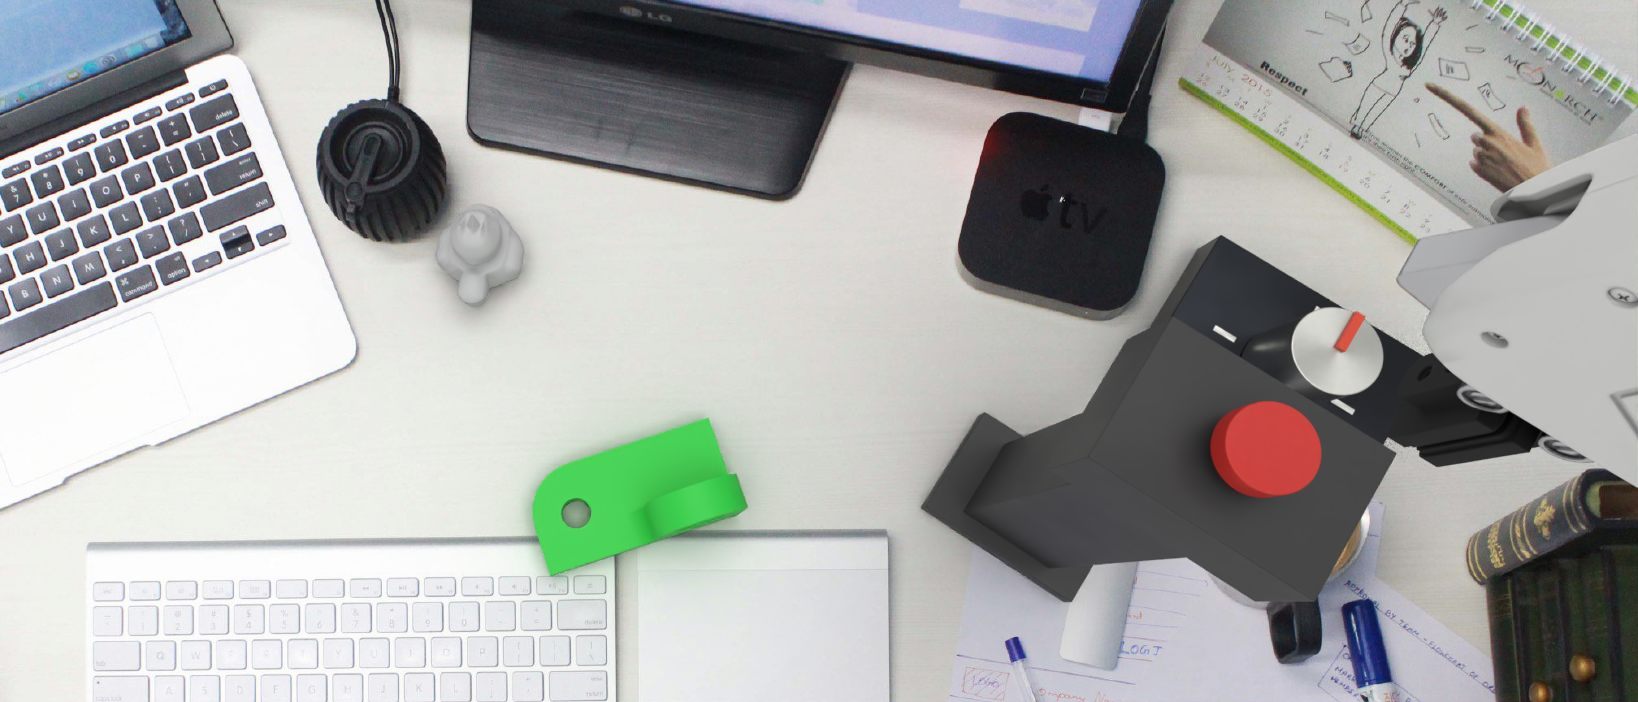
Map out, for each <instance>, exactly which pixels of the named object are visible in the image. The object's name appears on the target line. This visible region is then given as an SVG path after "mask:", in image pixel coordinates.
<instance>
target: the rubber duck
mask: <svg viewBox="0 0 1638 702" xmlns="http://www.w3.org/2000/svg"><path fill="white" fill-rule="evenodd" d="M524 258H525V247H524V243H523V241H522V239H521V236H520V235H519V234H518V232H516V230H514V228H513V226H512V224H510V222H509V220H508V219H507V218H506V217H505V216H504V215H503V213H502V212H501V211H500V210H499V209H498V208H496V207H494V206H490V205H487V204H483V203H476V204H473V205H471V206H469V207H467V208H466V209H464V210H463V211H461V213H459V215H457V216H456V218H454V220H453V221H452V222H451V224H450V225H449V226H447V227H446V228H444V230H443V231H442V232H441V234H440V235H439V237H438V240H437V244H436V250H435V261H436V263H437V265H438V266H439V267H440V268H441V269H442V270H443V271H444V272H445V273H447V274H448V275H449V276H450V277H451V278H452V279H454V280H456V281H457V282H458V285H457V292H456V293H457V294H456V295H457V297H458V299H460V300H461V301H462V302H463V303H465V304H467V306H468V307H470V308H479V307H481V306H483V305H484V304H485V303H486V302H487V301H488V298H489V296H490V289H491V288H494V287H498V286H501V285H503V284H505V283H506V282H510V281H513V280H515V279H517V278H518V277H519V276H521V273H522V268H523V263H524Z"/></svg>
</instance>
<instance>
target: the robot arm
mask: <svg viewBox="0 0 1638 702" xmlns="http://www.w3.org/2000/svg"><path fill="white" fill-rule="evenodd" d="M1489 208H1490V209H1489V212H1490V215H1491V217H1492V218H1493V220H1494V221H1495V222H1496V223H1494V224H1488V225H1482V226H1476V227H1472V228H1466V229H1460V230H1456V231H1449V232H1445V233H1439V234H1433V235H1428V236H1423V237H1421V238H1419V239H1417V241H1416V242H1415V244H1414V246H1413V249H1411V251H1410V253H1409V255H1408V257H1407V258H1406V260H1405V261H1404V264H1403V265H1402V267H1401V269H1400V271H1399V272H1398V275H1397V276H1396V278H1395V281H1396V284H1397V285H1398V286H1399V287H1400V288H1402V290H1404V291H1405V292H1406V293H1407V294H1409V295H1410V296H1411V297H1412V298H1413V299H1415V301H1417V302H1418V303H1420V304H1421V305H1422V306H1423V307H1425V308H1426V309H1427V310H1428V314H1427V316H1426V318H1425V321H1424V323H1423V325H1422V328H1421V334H1422V337H1423V340H1424V341H1425V344H1426V345H1427V347H1428V349H1430V351H1431V353H1427V354H1425V355H1423V357H1421V358H1420V359H1418V360H1417V361H1416V362H1415V363H1414V364H1413V365H1412V366H1411V367H1410V369H1409V370H1408V371H1407V373H1406V375H1405V376H1404V378H1403V380H1402V382H1401V383H1400V385H1399V388H1398V390H1397V396H1398V397H1399V398H1400V399H1402V400H1404V403H1403V404H1402V406H1401V408H1400V410H1399V412H1398V413H1397V415H1396V417H1395V419H1394V421H1393V422H1392V424H1391V426H1390V428H1389V430H1388V432H1387V437H1388V438H1387V439H1390V440H1391V441H1393V442H1394V443H1396V444H1398V445H1399V446H1401V447H1403V448H1410V447H1412V448H1416V451H1418V457H1419V458H1421V459H1422V460H1424V461H1426V462H1427V463H1429V464H1431V466H1434V467H1436V468H1443V467H1448V466H1454V465H1461V464H1466V463H1473V462H1479V461H1485V460H1491V459H1498V458H1503V457H1509V456H1516V455H1522V454H1528V453H1531V451H1532V449H1535V448H1540V449H1542V450H1543V451H1544V452H1545V453H1547V454H1548V455H1550V456H1552V457H1555V458H1557V459H1560V460H1562V461H1566V462H1571V463H1575V464H1596V465H1598V466H1600V467H1602V468H1604V469H1605V470H1606V471H1608V472H1609V473H1612V474H1613V475H1615V476H1616V477H1619V478H1620V479H1622V480H1623V481H1625V482H1627V483H1629V484H1630V485H1632V486H1634V487H1635V488H1637V489H1638V132H1637V133H1634V134H1632V135H1629V136H1626V137H1623V138H1621V139H1618V140H1616V141H1613V142H1610V143H1608V144H1605V145H1603V146H1600V147H1598V148H1596V149H1594V150H1591V151H1589V152H1586V153H1583V154H1581V155H1579V156H1576V157H1574V158H1572V159H1569V160H1566V161H1564V162H1562V163H1560V164H1558V165H1556V166H1553V167H1552V168H1549V169H1547V170H1544V171H1542V172H1540V173H1539V174H1537V175H1534V176H1533V177H1531V178H1529V179H1527V180H1525V181H1523V182H1521V183H1519V184H1518V185H1515V186H1513V187H1512V188H1510V189H1509V190H1507V191H1506V192H1504V193H1502V194H1501V195H1499V196H1498V197H1497V198H1495V200H1494V201H1493V202H1492V204H1491V205H1490V207H1489Z"/></svg>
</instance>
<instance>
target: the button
mask: <svg viewBox="0 0 1638 702" xmlns="http://www.w3.org/2000/svg"><path fill="white" fill-rule="evenodd" d="M1211 456H1212V460H1213V463H1214V466H1215V468H1216V470H1217V472H1218V473H1219V475H1220V476H1221V477H1222V478H1223V480H1224V481H1225V482H1226V483H1227V484H1228V485H1230V486H1231V487H1232V488H1234V489H1235V490H1237V491H1238V492H1240V493H1242V494H1245V495H1247V496H1251V497H1256V498H1270V497H1277V496H1283V495H1289V494H1292V493H1295V492H1297V491H1300V490H1301V489H1303V488H1304V487H1306V486H1307V485H1308V484H1309V483H1310V482H1311V481H1312V480H1313V478H1314V477H1315V475H1316V474H1317V471H1318V469H1319V466H1320V463H1321V444H1320V440H1319V437H1318V435H1317V432H1316V431H1315V429H1314V427H1313V426H1312V424H1311V423H1310V421H1309V420H1308V419H1307V418H1306V417H1305V416H1304V415H1303V414H1301V413H1300V412H1299V411H1297V410H1296V409H1294V408H1292V407H1290V406H1288V405H1286V404H1283V403H1279V402H1273V401H1261V402H1256V403H1252V404H1249V405H1246V406H1243V407H1239V408H1237V409H1234V410H1232V411H1230V412H1229V413H1227V414H1226V415H1225V416H1224V417H1223V418H1222V419H1221V420H1220V421H1219V422H1218V424H1217V425H1216V427H1215V429H1214V431H1213V434H1212V438H1211Z"/></svg>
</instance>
